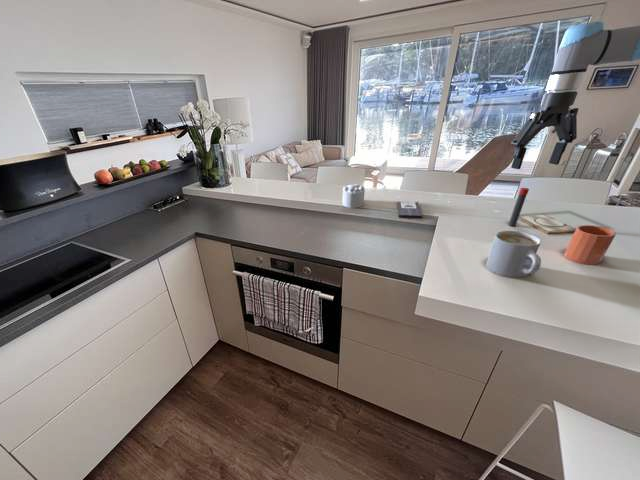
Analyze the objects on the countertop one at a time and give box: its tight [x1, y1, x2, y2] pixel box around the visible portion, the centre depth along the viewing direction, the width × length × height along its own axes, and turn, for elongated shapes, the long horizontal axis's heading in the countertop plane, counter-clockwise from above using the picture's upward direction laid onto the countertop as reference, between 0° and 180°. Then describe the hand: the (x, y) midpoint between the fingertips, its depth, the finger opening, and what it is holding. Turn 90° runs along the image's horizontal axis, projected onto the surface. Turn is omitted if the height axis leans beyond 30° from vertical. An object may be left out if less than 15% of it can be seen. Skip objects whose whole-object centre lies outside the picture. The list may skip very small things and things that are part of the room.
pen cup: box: [563, 224, 617, 266], centre depth 83 cm, size 8×8×9 cm
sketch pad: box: [518, 213, 577, 235], centre depth 106 cm, size 20×16×1 cm
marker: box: [508, 187, 530, 227], centre depth 105 cm, size 2×2×14 cm
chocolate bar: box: [396, 201, 423, 219], centre depth 129 cm, size 9×1×18 cm
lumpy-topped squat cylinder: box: [342, 183, 366, 209], centre depth 142 cm, size 10×13×9 cm
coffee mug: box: [485, 230, 542, 279], centre depth 80 cm, size 13×10×10 cm
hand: (534, 166), depth 94 cm, fingers open, 13 cm apart
